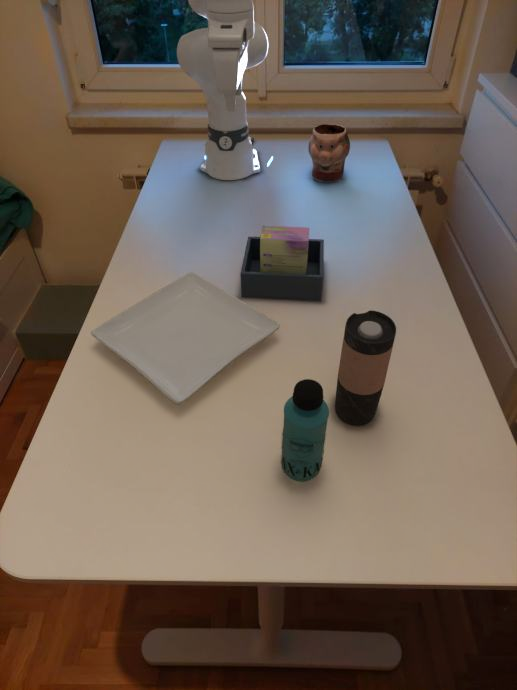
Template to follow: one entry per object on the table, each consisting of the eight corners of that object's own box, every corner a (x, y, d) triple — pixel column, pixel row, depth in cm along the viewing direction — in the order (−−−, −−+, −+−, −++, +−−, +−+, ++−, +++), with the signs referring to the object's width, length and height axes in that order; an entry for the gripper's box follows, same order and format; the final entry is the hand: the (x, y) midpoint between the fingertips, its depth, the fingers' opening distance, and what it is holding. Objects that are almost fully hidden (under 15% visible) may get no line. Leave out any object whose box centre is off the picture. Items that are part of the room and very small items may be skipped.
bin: (248, 259, 122) (248, 236, 117) (321, 263, 120) (323, 239, 116) (241, 297, 112) (240, 273, 107) (321, 301, 110) (323, 277, 105)
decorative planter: (308, 158, 162) (311, 114, 152) (347, 160, 161) (351, 115, 151) (305, 187, 148) (307, 140, 138) (346, 189, 147) (352, 142, 137)
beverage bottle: (277, 454, 82) (279, 372, 68) (318, 451, 82) (328, 368, 68) (282, 490, 77) (285, 409, 63) (325, 487, 78) (337, 405, 64)
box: (306, 270, 117) (309, 226, 109) (306, 285, 113) (308, 240, 105) (262, 268, 118) (261, 224, 110) (260, 283, 114) (259, 238, 106)
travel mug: (366, 434, 85) (385, 350, 71) (325, 415, 88) (336, 331, 74) (383, 404, 89) (404, 320, 75) (344, 387, 92) (357, 303, 78)
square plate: (92, 344, 101) (87, 330, 99) (193, 283, 116) (191, 269, 113) (180, 416, 88) (177, 402, 85) (282, 337, 102) (282, 322, 99)
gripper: (222, 14, 104) (226, 85, 114) (205, 39, 89) (212, 119, 99) (253, 14, 103) (254, 86, 113) (240, 40, 89) (243, 120, 99)
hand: (234, 102), depth 106 cm, fingers open, 8 cm apart
